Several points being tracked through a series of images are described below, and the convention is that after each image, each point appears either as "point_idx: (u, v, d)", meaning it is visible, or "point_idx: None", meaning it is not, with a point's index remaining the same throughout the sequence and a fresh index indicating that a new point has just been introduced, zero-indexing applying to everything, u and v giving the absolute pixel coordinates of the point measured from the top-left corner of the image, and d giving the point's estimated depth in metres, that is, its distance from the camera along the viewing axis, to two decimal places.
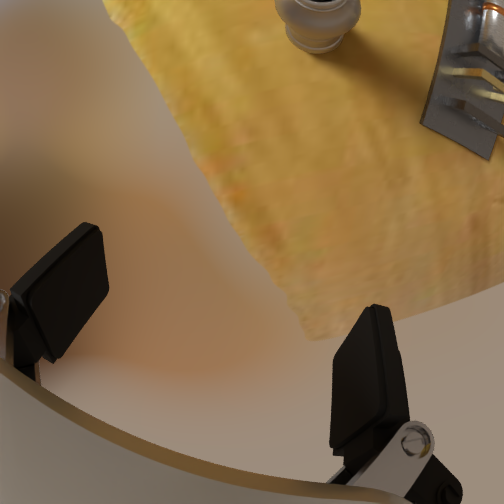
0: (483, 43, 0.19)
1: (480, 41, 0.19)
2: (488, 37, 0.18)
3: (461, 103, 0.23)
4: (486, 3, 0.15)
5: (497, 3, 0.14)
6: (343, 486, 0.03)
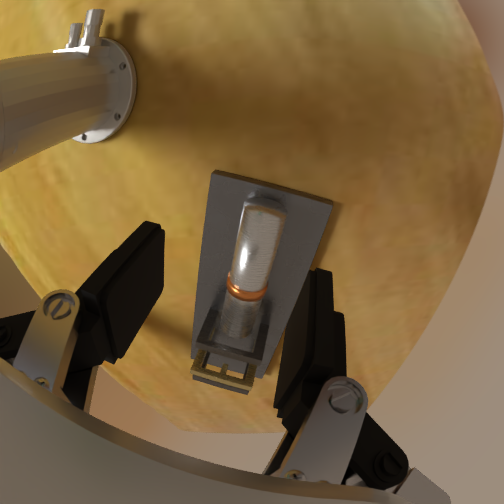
0: (220, 322, 0.34)
1: (221, 316, 0.35)
2: (223, 319, 0.33)
3: None
4: (227, 278, 0.31)
5: (234, 284, 0.29)
6: (343, 486, 0.03)
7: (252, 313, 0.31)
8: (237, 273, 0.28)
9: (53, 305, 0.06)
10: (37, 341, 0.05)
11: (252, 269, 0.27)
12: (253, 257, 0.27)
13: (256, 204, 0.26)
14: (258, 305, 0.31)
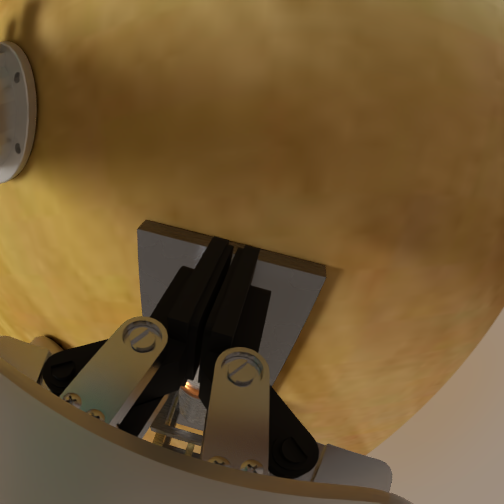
0: (179, 405, 0.24)
1: None
2: (180, 405, 0.23)
3: None
4: None
5: None
6: (344, 486, 0.03)
7: None
8: None
9: (136, 332, 0.06)
10: (105, 368, 0.05)
11: None
12: None
13: None
14: None
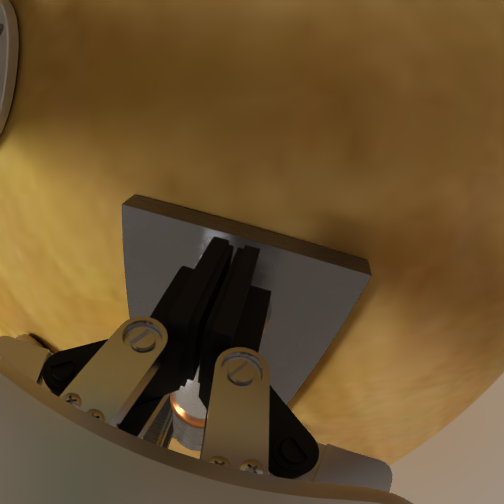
0: (173, 427, 0.20)
1: None
2: (174, 429, 0.19)
3: None
4: None
5: (179, 408, 0.15)
6: (343, 486, 0.03)
7: None
8: (180, 398, 0.14)
9: (136, 332, 0.06)
10: (106, 368, 0.05)
11: None
12: None
13: None
14: None
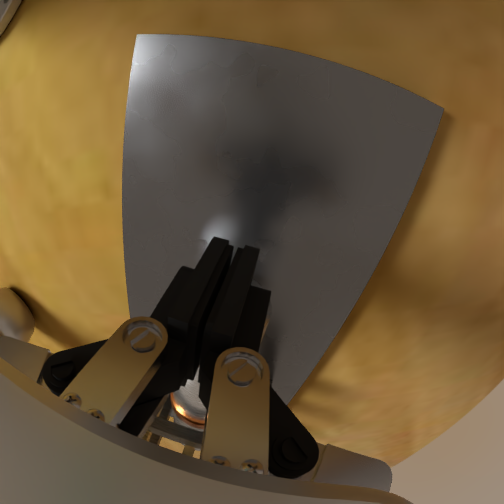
0: None
1: None
2: None
3: None
4: None
5: (179, 408, 0.15)
6: (343, 486, 0.03)
7: None
8: (180, 398, 0.14)
9: (136, 332, 0.06)
10: (105, 368, 0.05)
11: None
12: None
13: None
14: None
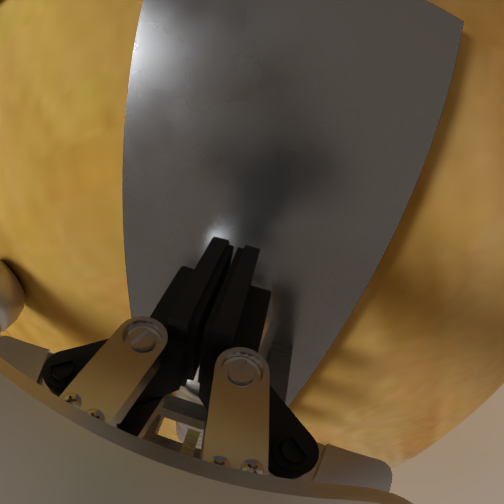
0: (176, 428, 0.20)
1: None
2: (177, 430, 0.19)
3: None
4: None
5: None
6: (343, 486, 0.03)
7: None
8: None
9: (136, 332, 0.06)
10: (105, 369, 0.05)
11: None
12: None
13: None
14: None
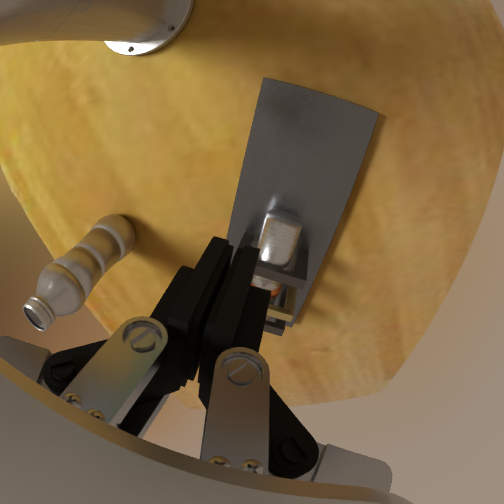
0: None
1: None
2: None
3: None
4: None
5: (254, 283, 0.34)
6: (343, 485, 0.03)
7: None
8: None
9: (136, 332, 0.06)
10: (106, 369, 0.05)
11: None
12: (272, 261, 0.32)
13: (276, 216, 0.31)
14: (273, 302, 0.36)
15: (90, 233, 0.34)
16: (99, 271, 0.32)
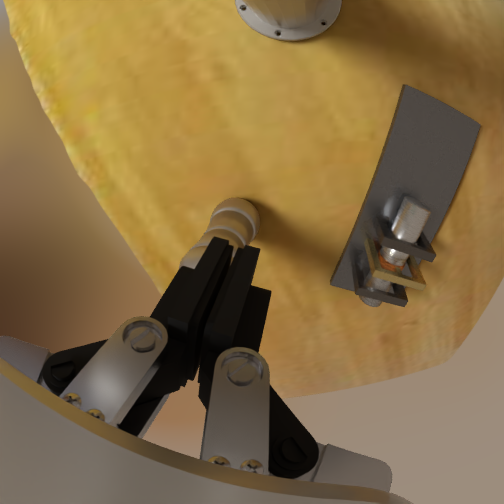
0: None
1: None
2: None
3: (356, 285, 0.38)
4: (379, 256, 0.37)
5: (389, 260, 0.36)
6: (343, 486, 0.03)
7: (392, 284, 0.38)
8: (393, 251, 0.35)
9: (136, 332, 0.06)
10: (105, 368, 0.05)
11: None
12: (409, 239, 0.33)
13: (412, 201, 0.32)
14: None
15: (222, 215, 0.36)
16: None
